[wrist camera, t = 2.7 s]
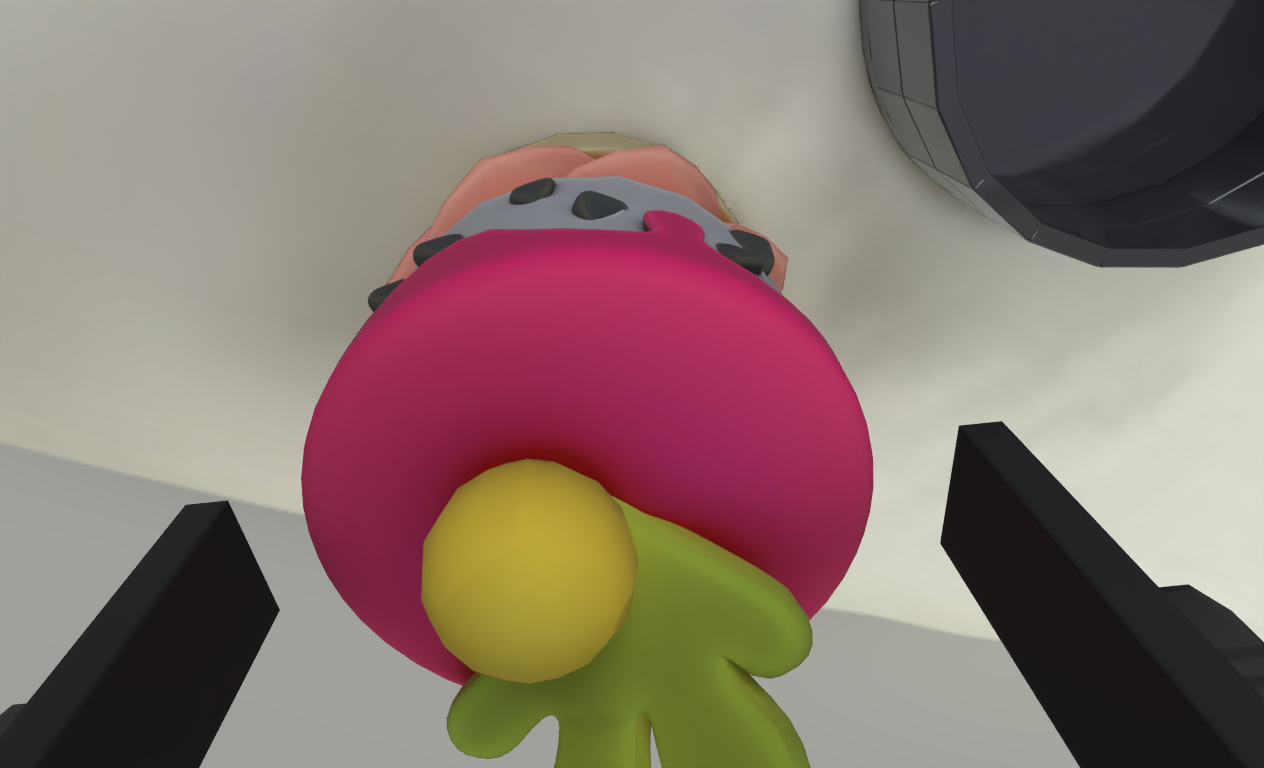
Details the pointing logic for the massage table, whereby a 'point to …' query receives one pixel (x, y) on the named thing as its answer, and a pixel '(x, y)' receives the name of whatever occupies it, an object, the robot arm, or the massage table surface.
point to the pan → (1084, 118)
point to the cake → (592, 463)
